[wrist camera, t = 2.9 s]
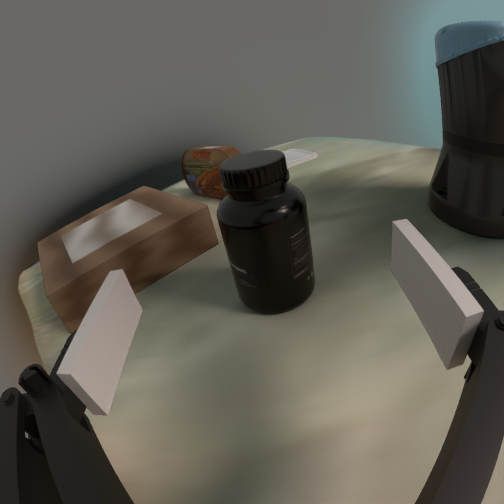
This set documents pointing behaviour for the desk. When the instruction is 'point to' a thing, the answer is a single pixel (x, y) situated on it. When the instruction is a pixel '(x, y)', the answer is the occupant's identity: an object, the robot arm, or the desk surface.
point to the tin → (206, 169)
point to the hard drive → (298, 156)
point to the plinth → (122, 247)
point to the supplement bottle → (266, 232)
